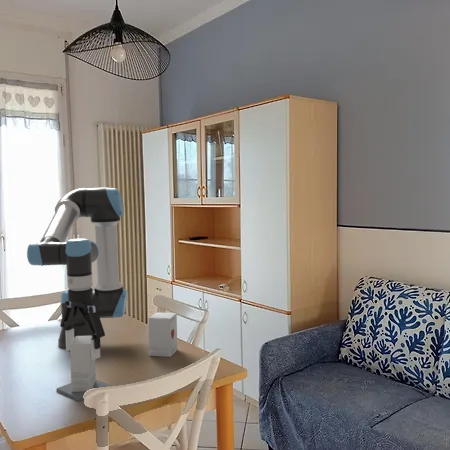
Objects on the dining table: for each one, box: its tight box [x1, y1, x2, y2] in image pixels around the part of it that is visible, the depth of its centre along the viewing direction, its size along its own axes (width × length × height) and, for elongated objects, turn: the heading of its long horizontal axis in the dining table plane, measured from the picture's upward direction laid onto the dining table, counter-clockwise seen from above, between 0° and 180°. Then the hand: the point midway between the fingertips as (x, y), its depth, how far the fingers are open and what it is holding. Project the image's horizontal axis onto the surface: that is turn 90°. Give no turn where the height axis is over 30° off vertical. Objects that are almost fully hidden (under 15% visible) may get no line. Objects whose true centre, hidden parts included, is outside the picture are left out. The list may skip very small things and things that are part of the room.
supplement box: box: [148, 312, 178, 358], centre depth 187 cm, size 9×9×15 cm
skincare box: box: [69, 336, 97, 392], centre depth 153 cm, size 8×7×16 cm
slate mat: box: [55, 379, 112, 402], centre depth 154 cm, size 12×12×1 cm
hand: (82, 353), depth 153 cm, fingers open, 13 cm apart
